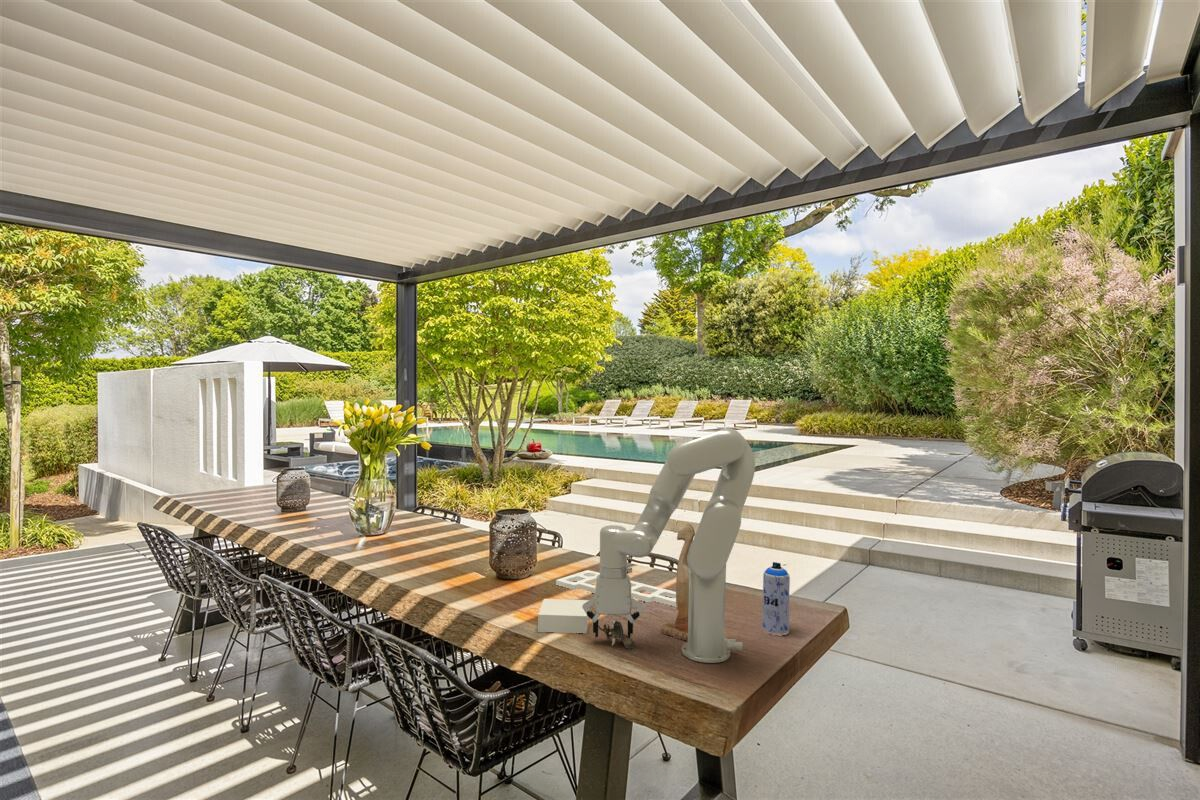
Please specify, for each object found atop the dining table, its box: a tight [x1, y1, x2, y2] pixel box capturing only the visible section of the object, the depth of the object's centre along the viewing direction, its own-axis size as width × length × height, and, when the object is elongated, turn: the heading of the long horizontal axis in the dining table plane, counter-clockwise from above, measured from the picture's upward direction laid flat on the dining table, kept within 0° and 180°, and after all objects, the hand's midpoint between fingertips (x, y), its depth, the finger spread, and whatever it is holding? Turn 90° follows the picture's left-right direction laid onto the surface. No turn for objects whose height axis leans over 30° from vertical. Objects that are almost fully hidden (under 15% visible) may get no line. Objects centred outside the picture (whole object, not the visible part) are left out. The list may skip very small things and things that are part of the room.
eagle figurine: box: [598, 620, 635, 649], centre depth 165 cm, size 8×7×9 cm
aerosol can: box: [761, 561, 791, 634], centre depth 177 cm, size 8×8×20 cm
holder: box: [555, 569, 677, 607], centre depth 209 cm, size 45×18×3 cm, turn 51°
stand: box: [537, 598, 590, 635], centre depth 179 cm, size 14×14×5 cm
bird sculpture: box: [660, 523, 696, 642], centre depth 174 cm, size 11×12×32 cm
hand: (612, 635), depth 165 cm, fingers closed on eagle figurine, 8 cm apart
